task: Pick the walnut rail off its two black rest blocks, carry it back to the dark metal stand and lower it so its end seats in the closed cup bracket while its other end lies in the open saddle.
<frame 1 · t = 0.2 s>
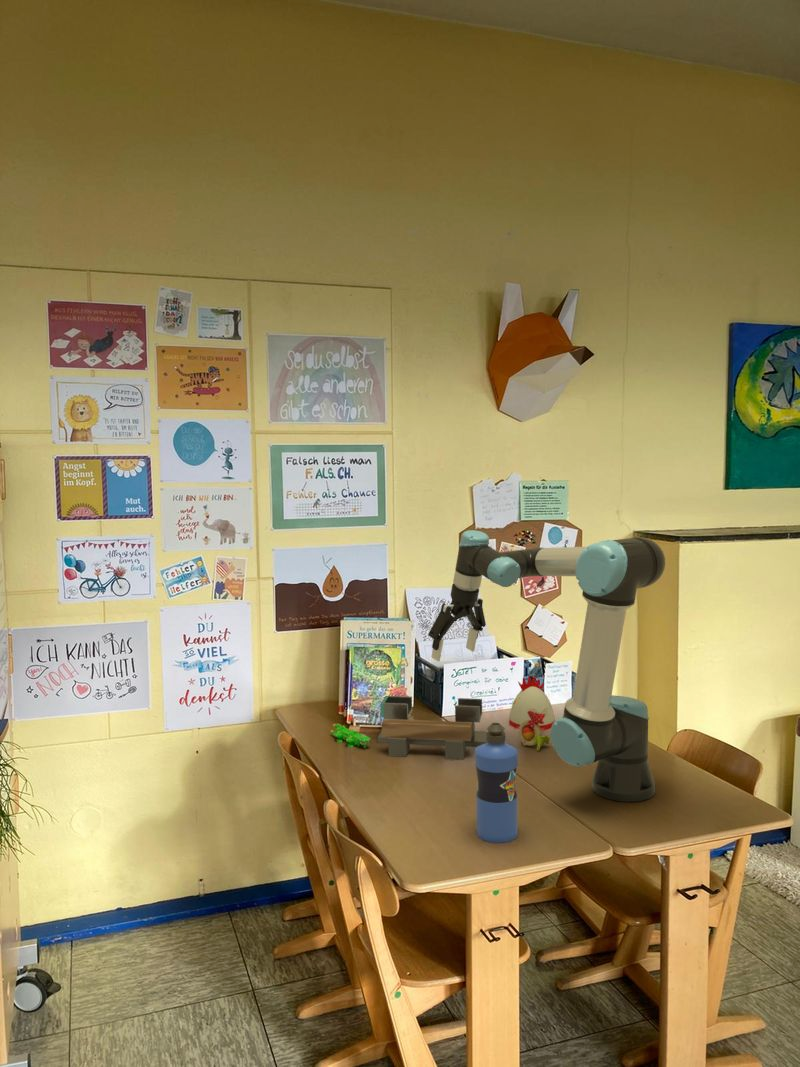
hand: (453, 654, 236), 27 cm above the table, tool tilted 15°, fingers open, 13 cm apart
crocodile figurine: (350, 743, 245), on the table
rail stand: (433, 739, 246), on the table
rail rest: (427, 754, 234), on the table
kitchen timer: (532, 724, 258), on the table
walnut rail: (427, 736, 234), point 5 cm above the table, touching rail rest
water bottle: (497, 834, 185), on the table
bird rattle: (532, 748, 237), on the table
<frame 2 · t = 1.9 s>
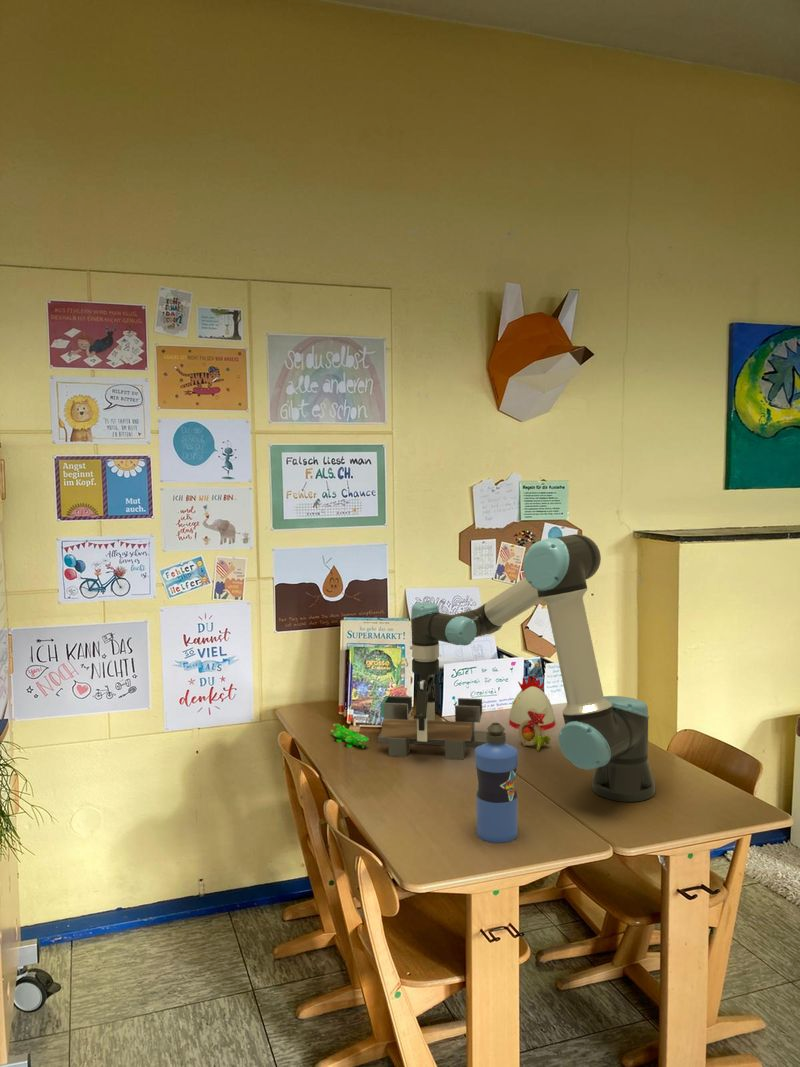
hand: (426, 732, 234), 6 cm above the table, tool pointing down, fingers open, 13 cm apart
nothing on the table moved.
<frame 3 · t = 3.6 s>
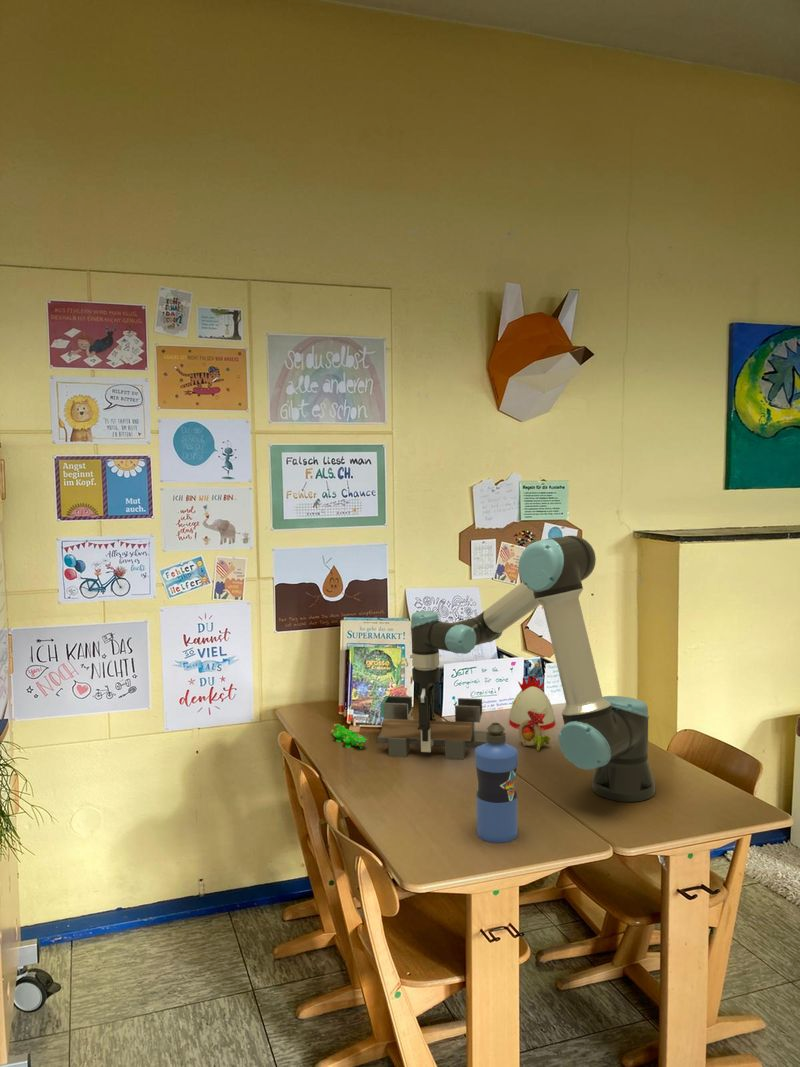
hand: (427, 748, 234), 2 cm above the table, tool pointing down, fingers closed on walnut rail, 4 cm apart
walnut rail: (427, 736, 234), point 5 cm above the table, touching gripper, rail rest
everything else where it was.
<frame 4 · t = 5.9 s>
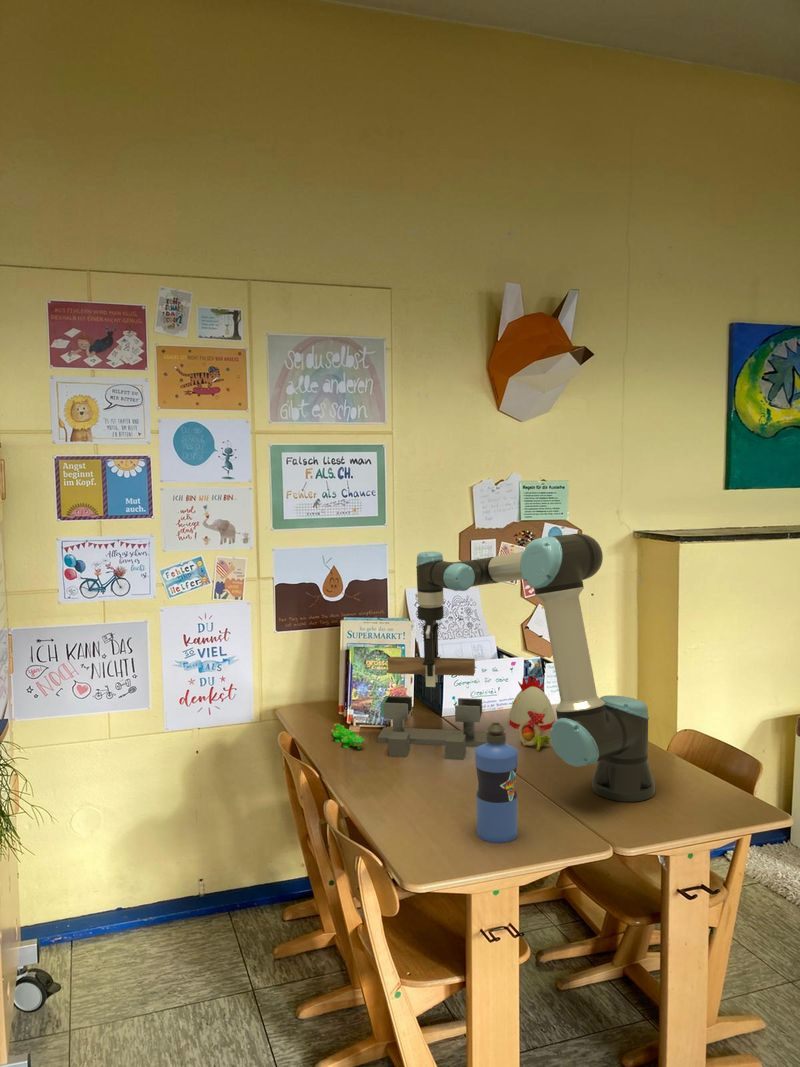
hand: (431, 684, 244), 17 cm above the table, tool pointing down, fingers closed on walnut rail, 4 cm apart
walnut rail: (431, 672, 243), point 20 cm above the table, touching gripper
everything else where it was.
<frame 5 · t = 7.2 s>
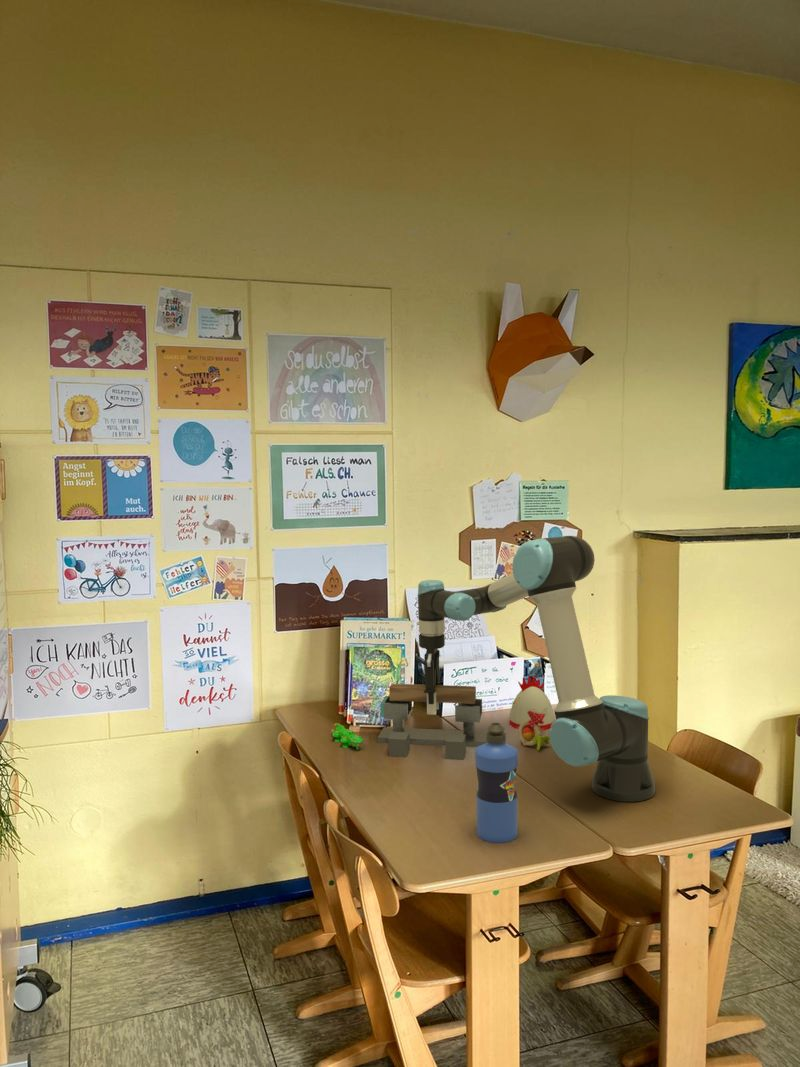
hand: (433, 711, 245), 8 cm above the table, tool pointing down, fingers closed on walnut rail, 4 cm apart
walnut rail: (432, 700, 245), point 12 cm above the table, touching gripper
when the fingers open (6 cm above the table, at t = 8.3 s): walnut rail stays where it is, resting on rail stand.
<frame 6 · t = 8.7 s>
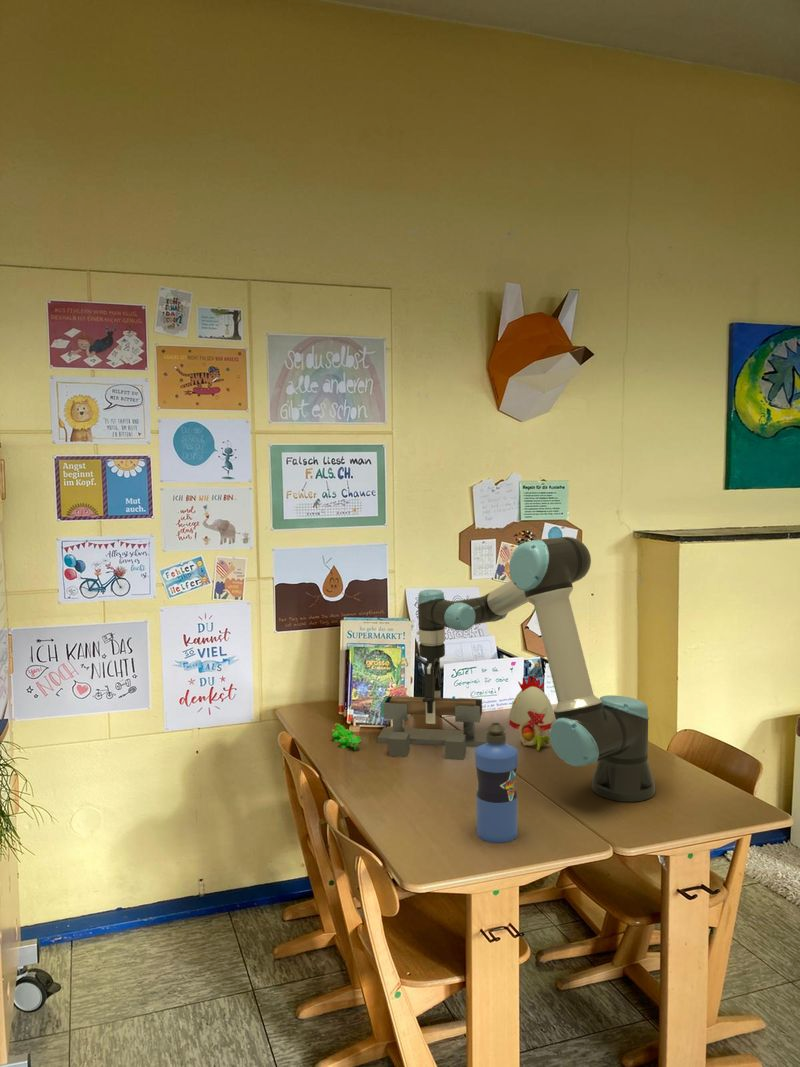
hand: (433, 717, 245), 7 cm above the table, tool pointing down, fingers open, 9 cm apart
walnut rail: (433, 712, 245), point 8 cm above the table, touching rail stand
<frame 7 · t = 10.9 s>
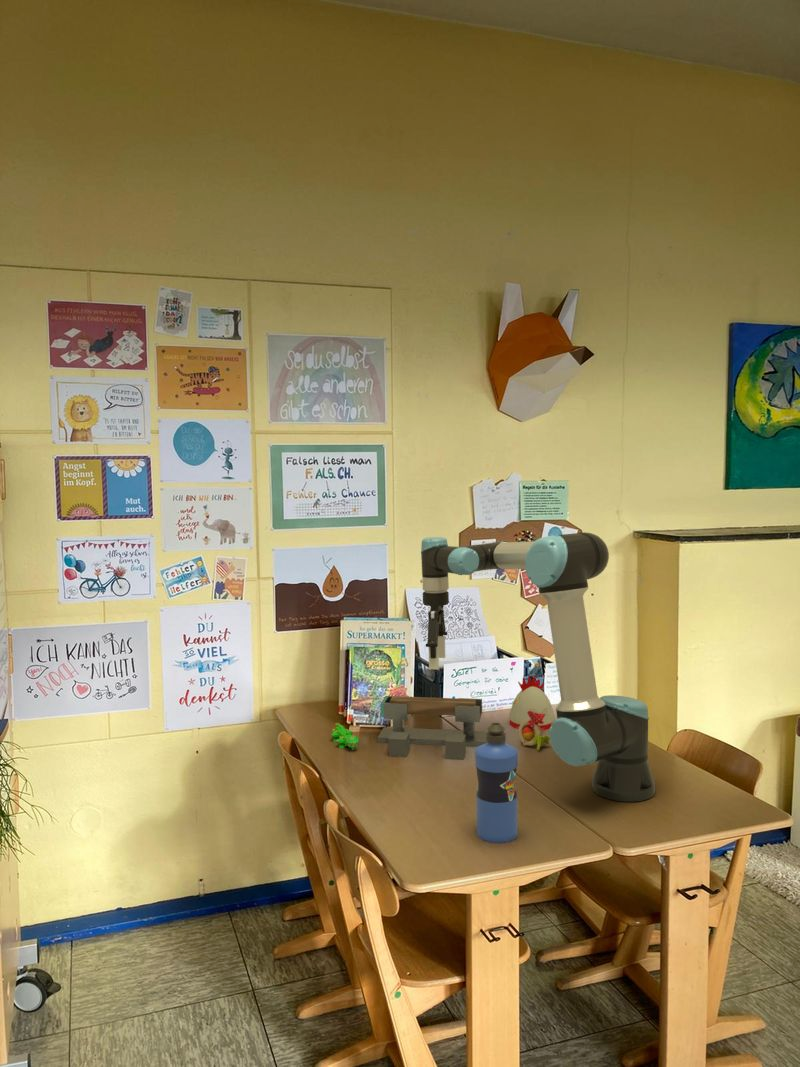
hand: (437, 663, 242), 23 cm above the table, tool pointing down, fingers open, 13 cm apart
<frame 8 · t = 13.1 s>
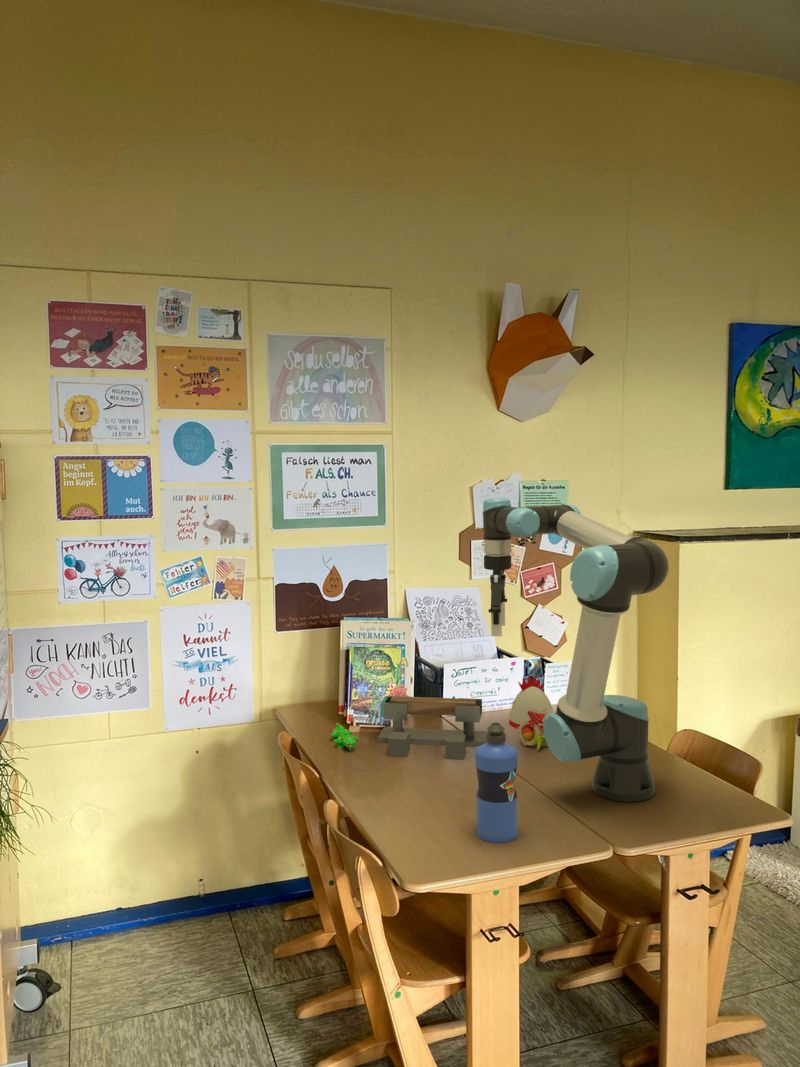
hand: (498, 630, 231), 35 cm above the table, tool pointing down, fingers open, 13 cm apart
at the end: walnut rail 0.5 cm off-centre on the rail stand, point 8.0 cm above the rail stand's base; walnut rail tilted 0°; the gripper is holding nothing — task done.
